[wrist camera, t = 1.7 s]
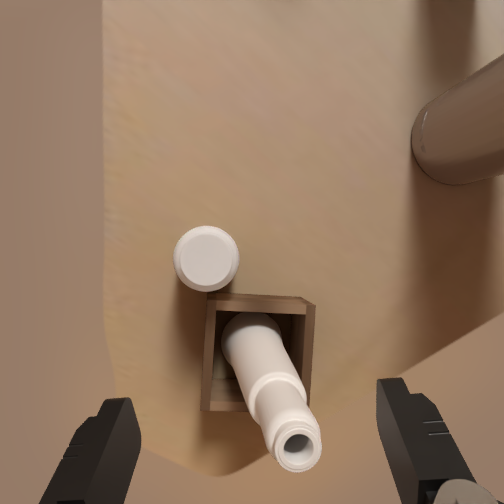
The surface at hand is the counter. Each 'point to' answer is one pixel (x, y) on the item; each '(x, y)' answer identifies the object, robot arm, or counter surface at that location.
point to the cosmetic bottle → (272, 390)
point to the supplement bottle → (206, 258)
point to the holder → (302, 312)
